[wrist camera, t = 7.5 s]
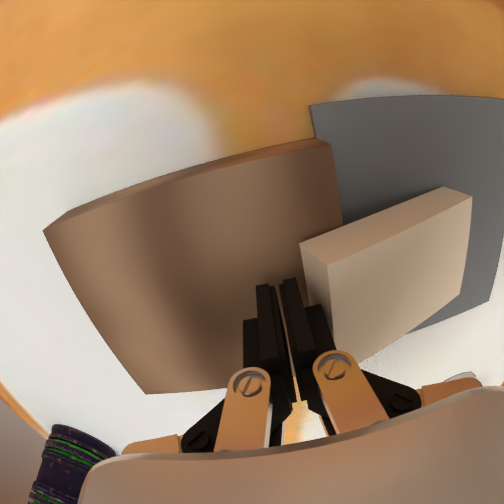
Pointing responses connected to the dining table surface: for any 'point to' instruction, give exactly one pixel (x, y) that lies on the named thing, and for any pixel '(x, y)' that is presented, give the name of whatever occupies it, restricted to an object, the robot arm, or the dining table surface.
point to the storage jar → (67, 465)
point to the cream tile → (389, 269)
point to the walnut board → (196, 258)
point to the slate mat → (423, 168)
